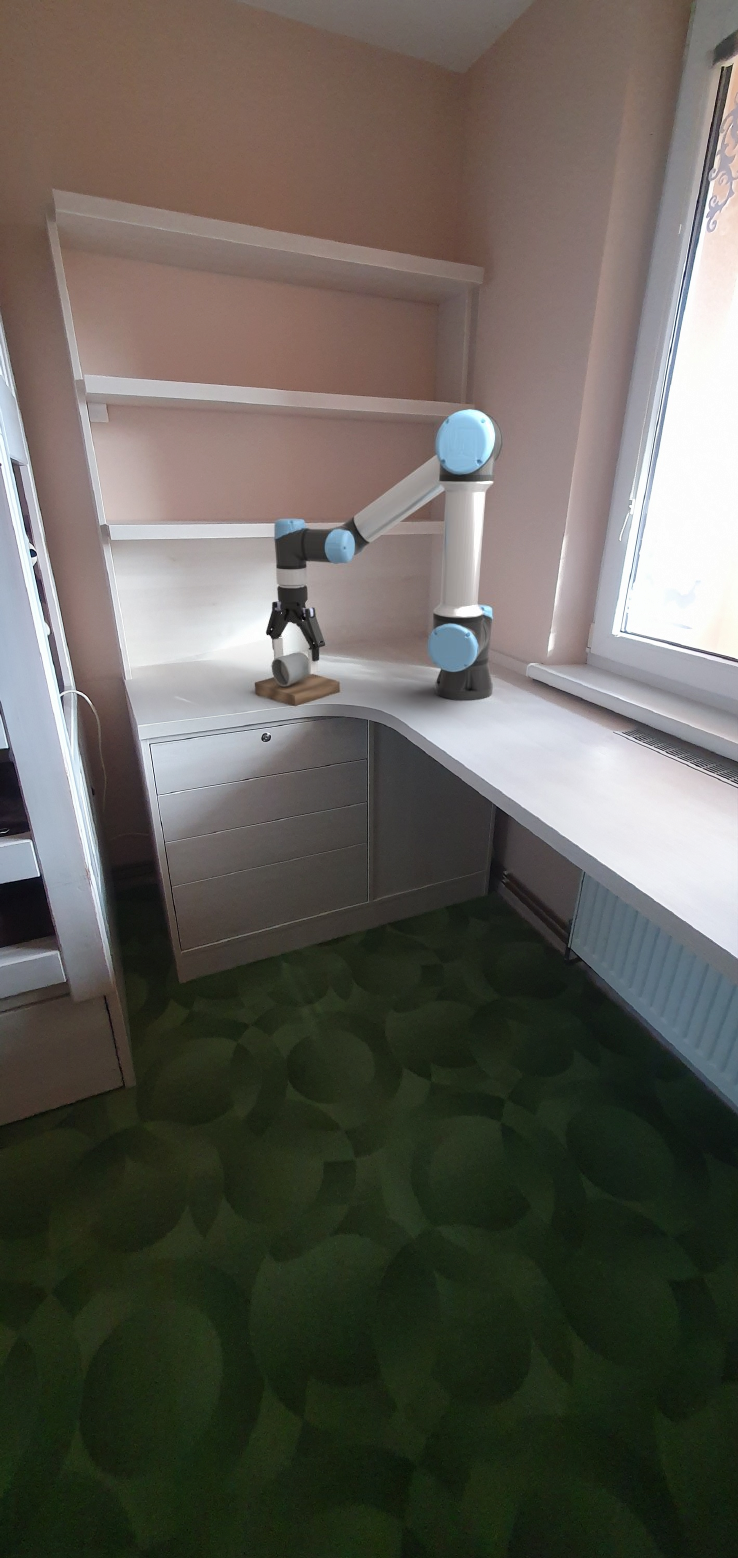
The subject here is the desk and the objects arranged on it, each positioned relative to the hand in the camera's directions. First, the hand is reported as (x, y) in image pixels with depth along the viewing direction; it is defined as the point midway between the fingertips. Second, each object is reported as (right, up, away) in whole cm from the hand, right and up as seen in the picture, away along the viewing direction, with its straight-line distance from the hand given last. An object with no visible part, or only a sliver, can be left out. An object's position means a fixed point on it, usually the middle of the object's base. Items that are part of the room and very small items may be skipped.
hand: (295, 667), depth 172 cm
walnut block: (0, -7, +4) cm, 8 cm away
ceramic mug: (+1, -3, +2) cm, 4 cm away
